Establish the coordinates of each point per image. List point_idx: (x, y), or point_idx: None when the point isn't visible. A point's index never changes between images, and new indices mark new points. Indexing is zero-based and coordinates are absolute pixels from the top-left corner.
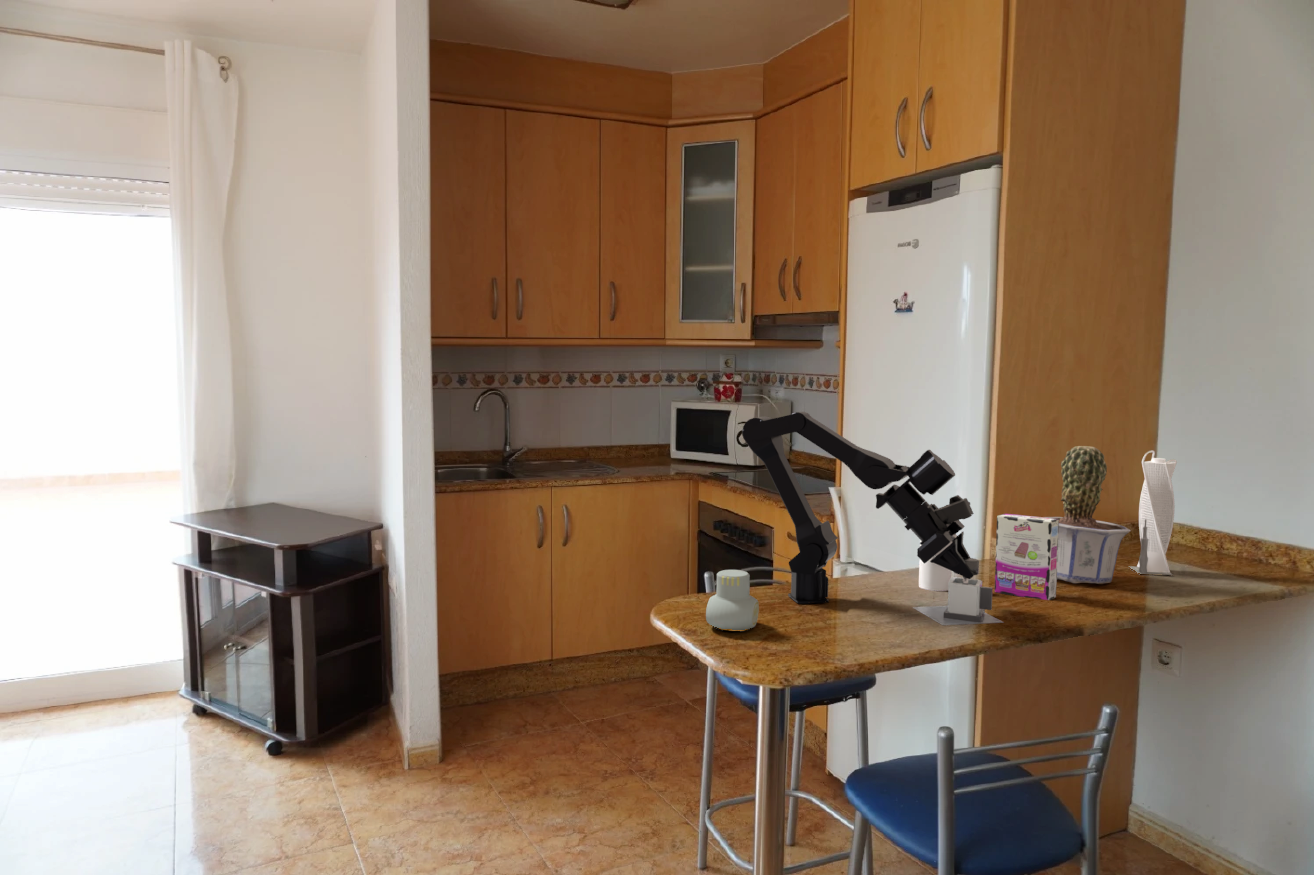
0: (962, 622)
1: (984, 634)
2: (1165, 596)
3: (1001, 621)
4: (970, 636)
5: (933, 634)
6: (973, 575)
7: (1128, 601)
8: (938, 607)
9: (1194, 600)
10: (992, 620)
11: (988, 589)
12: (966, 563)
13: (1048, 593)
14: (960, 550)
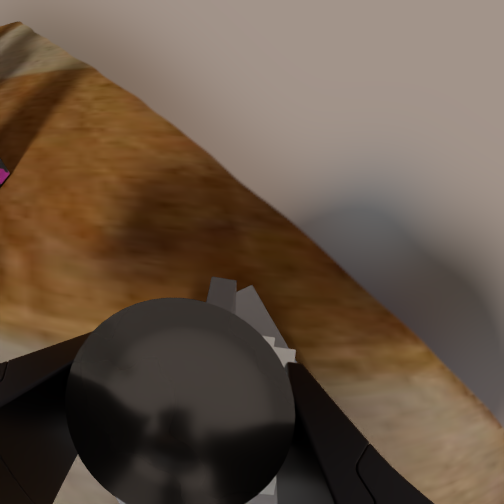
0: None
1: (358, 348)
2: (22, 64)
3: (243, 291)
4: (393, 384)
5: (409, 478)
6: (300, 363)
7: (32, 85)
8: None
9: (44, 46)
10: (241, 318)
11: (233, 298)
12: (291, 413)
13: (2, 162)
14: (8, 437)
